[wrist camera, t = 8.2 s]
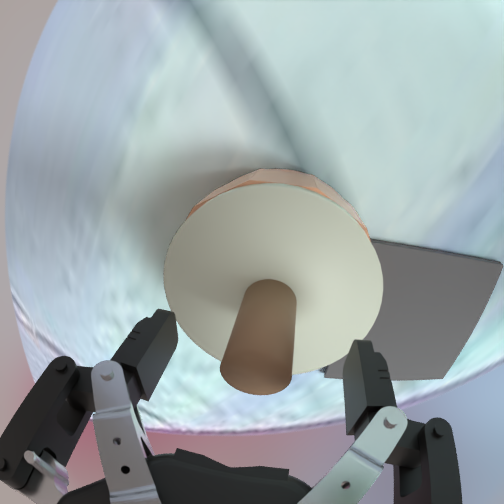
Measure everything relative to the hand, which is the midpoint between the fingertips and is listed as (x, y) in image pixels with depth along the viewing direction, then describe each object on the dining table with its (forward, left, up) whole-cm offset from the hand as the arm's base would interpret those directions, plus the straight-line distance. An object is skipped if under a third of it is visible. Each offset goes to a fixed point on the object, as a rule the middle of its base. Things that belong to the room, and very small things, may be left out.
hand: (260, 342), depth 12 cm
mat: (-13, +5, -9) cm, 17 cm away
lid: (0, 0, -4) cm, 4 cm away
